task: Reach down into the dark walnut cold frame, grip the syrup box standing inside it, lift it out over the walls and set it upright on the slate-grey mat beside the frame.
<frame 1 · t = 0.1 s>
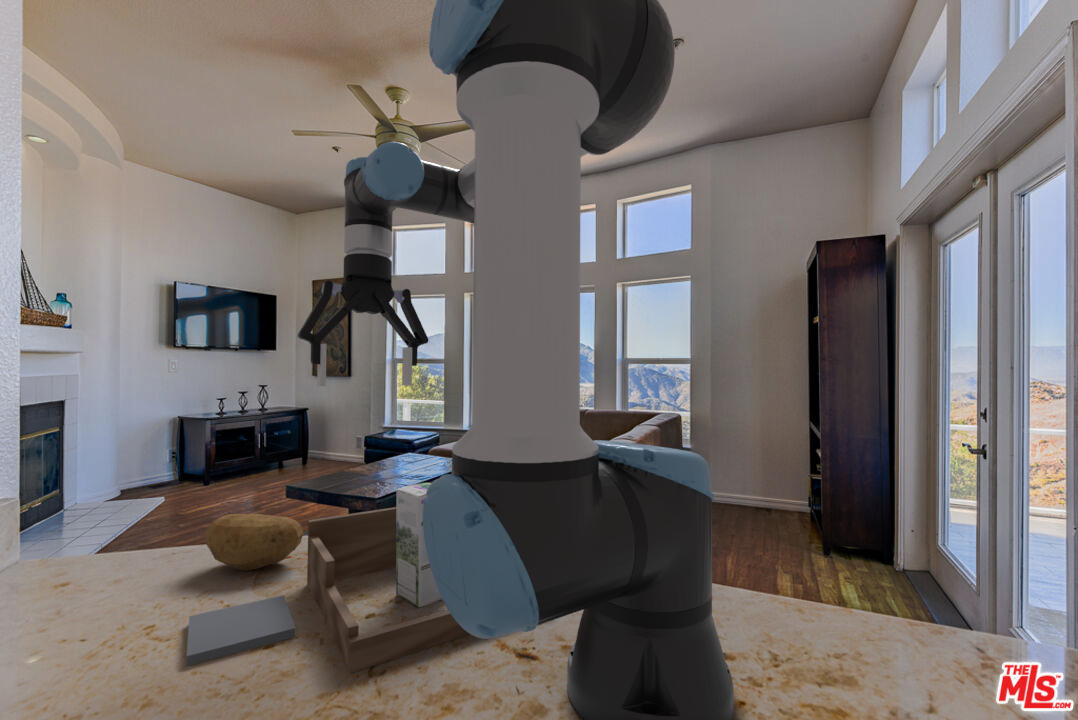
hand: (366, 386, 80), 28 cm above the countertop, fingers open, 13 cm apart
potato: (255, 568, 76), on the countertop
slate mat: (240, 630, 57), on the countertop
cold frame: (424, 595, 66), on the countertop
syrup box: (424, 596, 66), resting in cold frame
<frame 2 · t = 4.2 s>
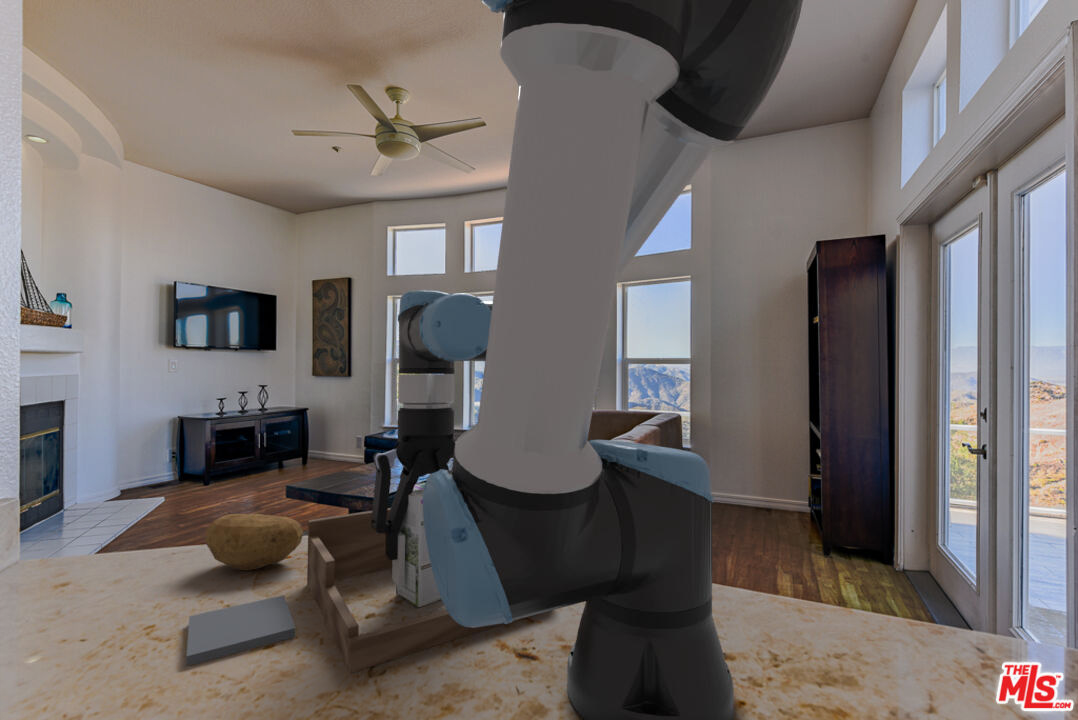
hand: (424, 576, 66), 2 cm above the countertop, fingers closed on syrup box, 6 cm apart
syrup box: (423, 596, 66), resting in cold frame, touching gripper
everything else where it was.
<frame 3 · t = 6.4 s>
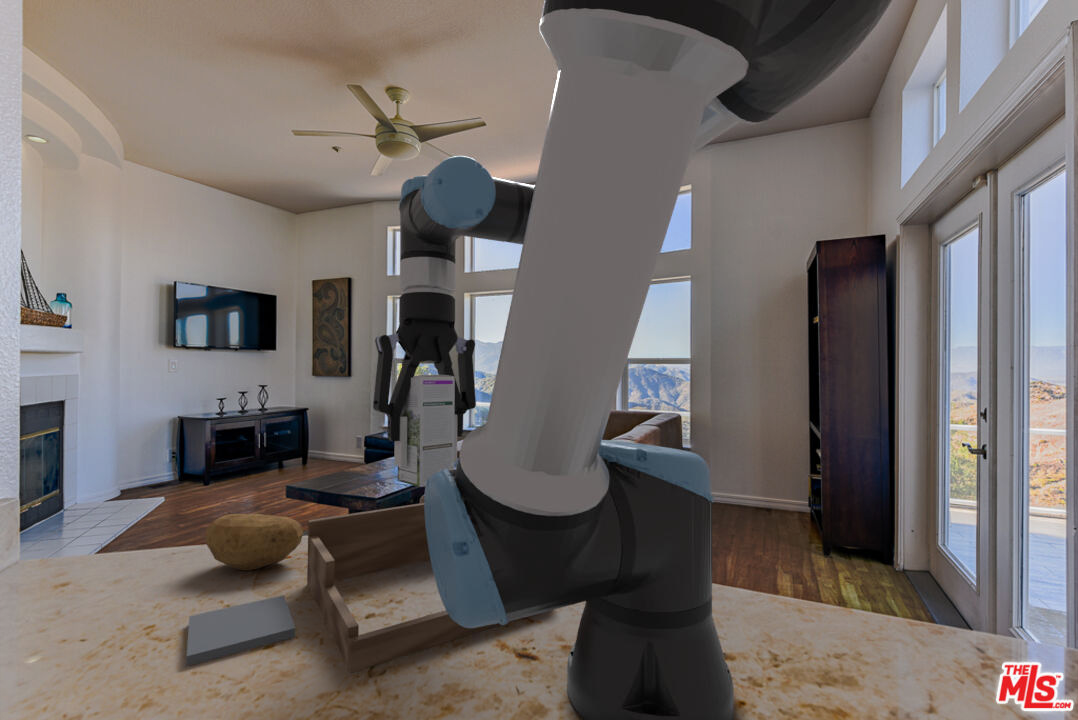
hand: (426, 463, 66), 18 cm above the countertop, fingers closed on syrup box, 6 cm apart
syrup box: (425, 483, 66), point 15 cm above the countertop, touching gripper
everything else where it was.
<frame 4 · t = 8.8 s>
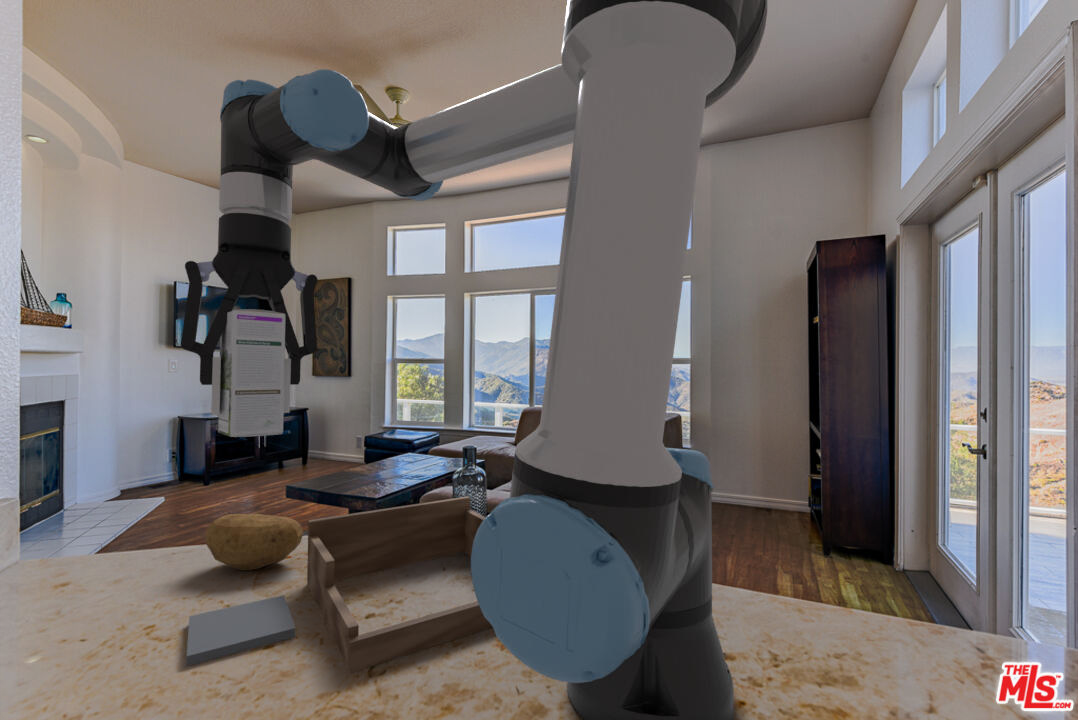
hand: (251, 412, 58), 25 cm above the countertop, fingers closed on syrup box, 6 cm apart
syrup box: (249, 435, 58), point 22 cm above the countertop, touching gripper
everything else where it was.
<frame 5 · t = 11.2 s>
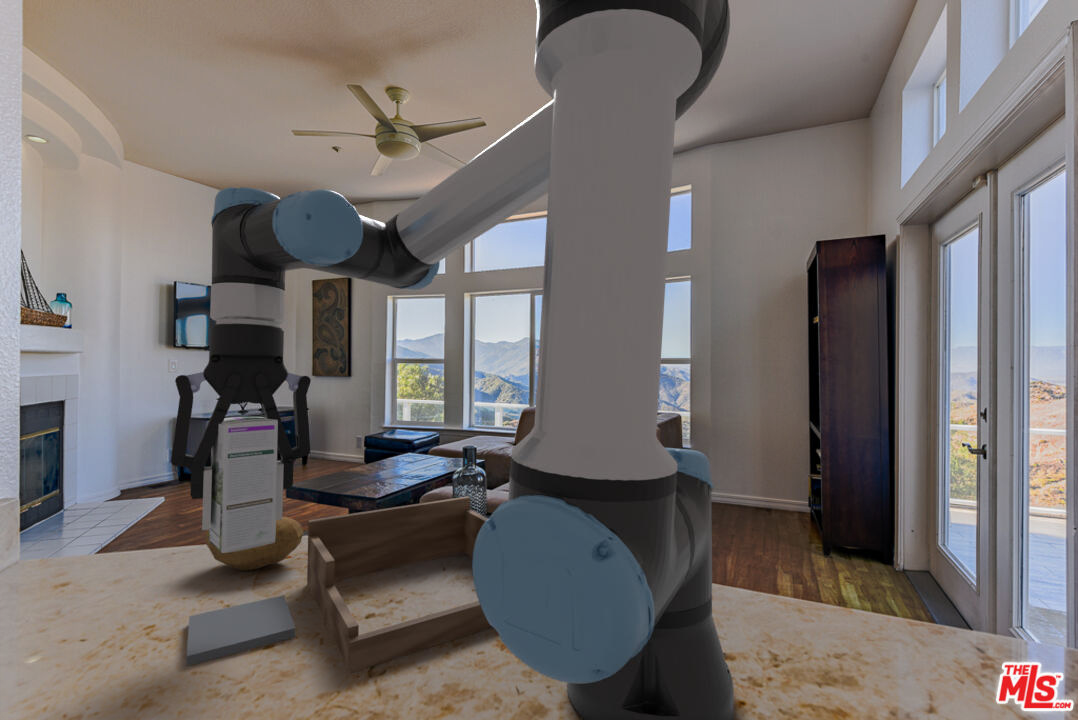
hand: (243, 521, 57), 13 cm above the countertop, fingers closed on syrup box, 6 cm apart
syrup box: (241, 544, 57), point 10 cm above the countertop, touching gripper
everything else where it was.
when the fingers open (5 cm above the countertop, at t = 13.5 s): syrup box drops 1 cm, resting on slate mat.
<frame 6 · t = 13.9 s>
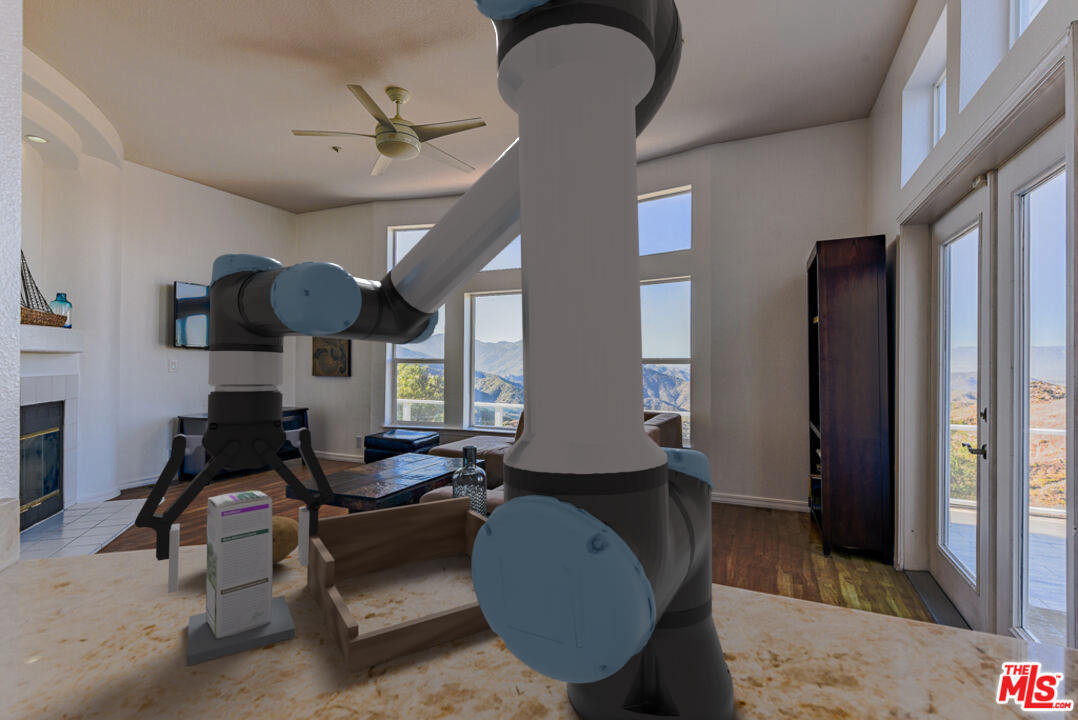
hand: (242, 574, 57), 6 cm above the countertop, fingers open, 12 cm apart
syrup box: (238, 624, 56), point 1 cm above the countertop, touching slate mat
everything else where it was.
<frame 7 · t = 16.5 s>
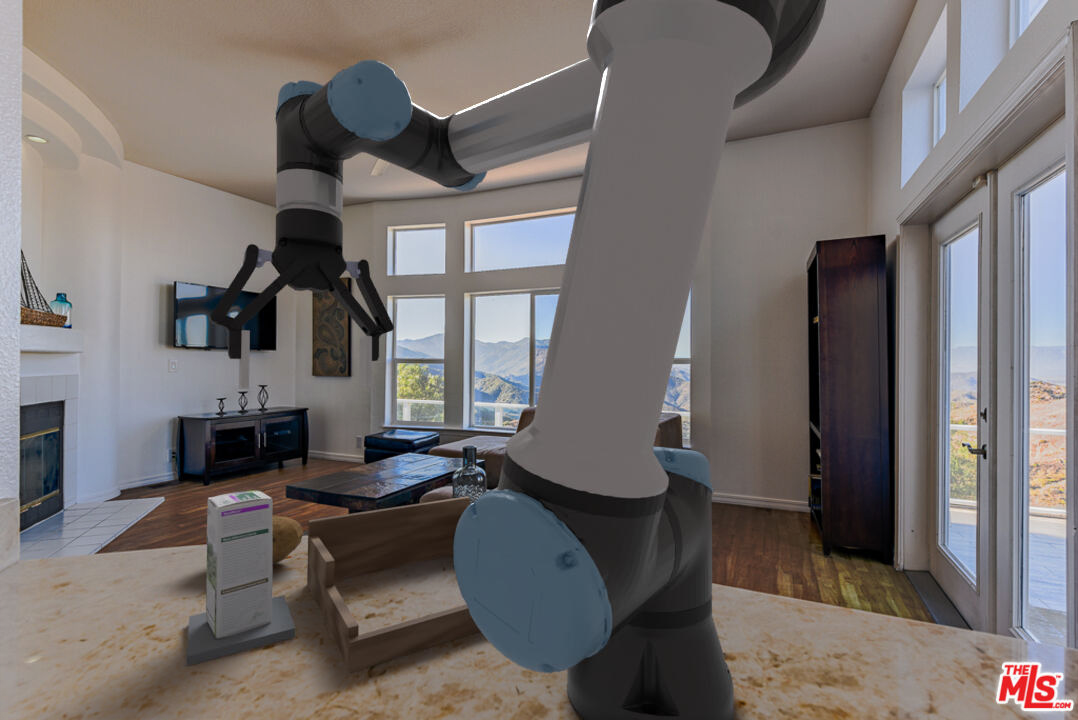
hand: (308, 387, 59), 28 cm above the countertop, fingers open, 13 cm apart
nothing on the countertop moved.
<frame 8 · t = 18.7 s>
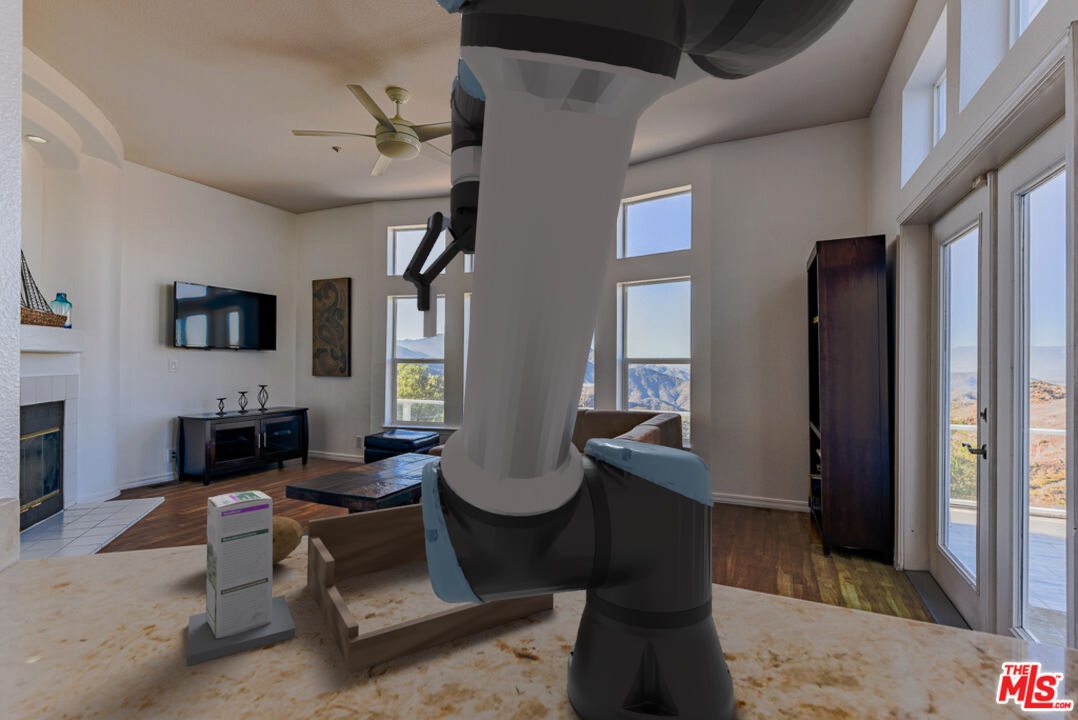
hand: (476, 339, 68), 35 cm above the countertop, fingers open, 13 cm apart
nothing on the countertop moved.
at the end: syrup box inside the target area on the slate mat (0.3 cm from its centre), point 0.8 cm above the slate mat's base; syrup box tilted 0°; the gripper is holding nothing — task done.
